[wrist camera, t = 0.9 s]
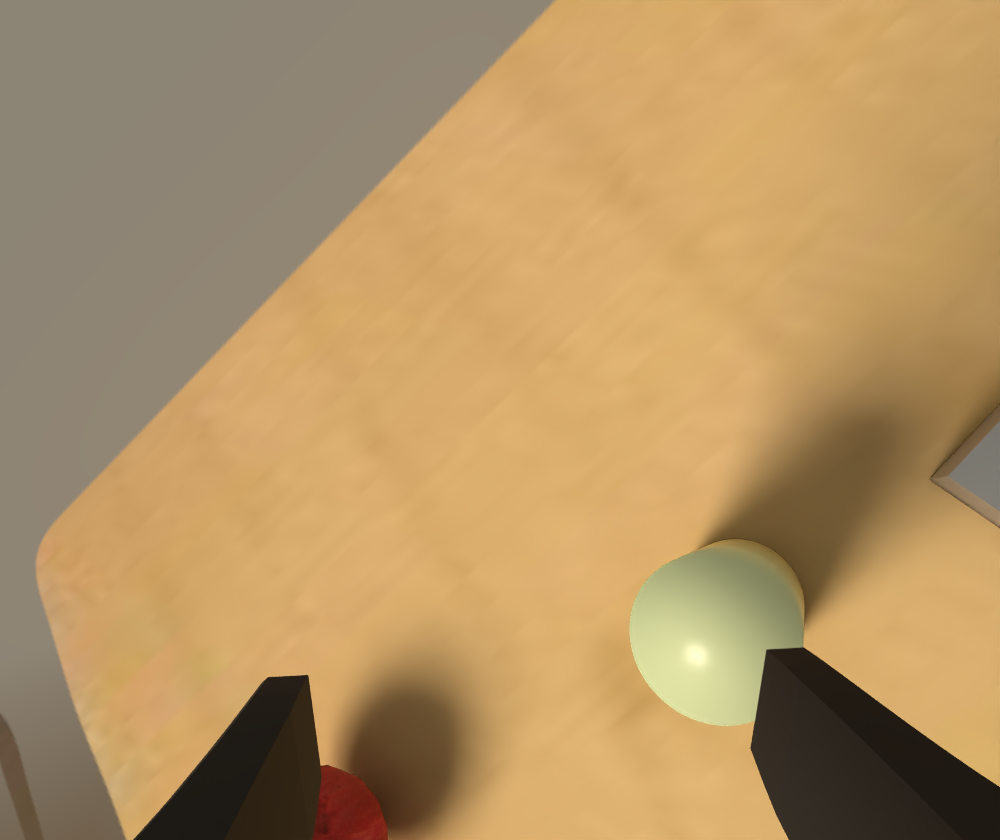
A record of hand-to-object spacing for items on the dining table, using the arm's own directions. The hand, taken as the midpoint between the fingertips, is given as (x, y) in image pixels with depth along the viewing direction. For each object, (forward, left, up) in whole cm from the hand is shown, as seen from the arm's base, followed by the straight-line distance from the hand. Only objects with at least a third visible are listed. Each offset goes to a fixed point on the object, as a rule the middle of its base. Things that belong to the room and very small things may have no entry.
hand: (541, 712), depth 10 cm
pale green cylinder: (-1, -1, -14) cm, 14 cm away
